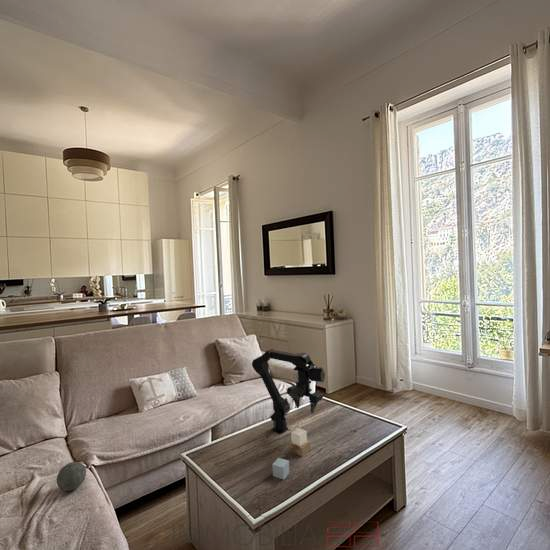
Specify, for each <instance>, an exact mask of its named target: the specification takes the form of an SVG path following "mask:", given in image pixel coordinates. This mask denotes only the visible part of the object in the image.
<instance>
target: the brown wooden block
mask: <svg viewBox="0 0 550 550" xmlns="http://www.w3.org/2000/svg"><path fill="white" fill-rule="evenodd" d="M310 450H311V441H310V440H309V439H307V442H306V443H305V444H303V445H302V446H298V445H295V444H293V443H292V441H291V442H289V443H288V452H289V453H291V454H294V455H297V456H300V457H304V456H305V455H306V454H307V453H308V452H309V451H310Z"/></svg>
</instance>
